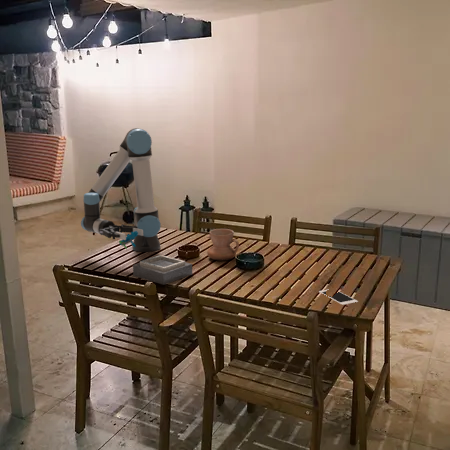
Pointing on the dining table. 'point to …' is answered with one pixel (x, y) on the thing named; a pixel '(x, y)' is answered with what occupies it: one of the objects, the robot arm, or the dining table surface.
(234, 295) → the dining table surface
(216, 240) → the ceramic jug
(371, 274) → the dining table surface
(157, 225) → the robot arm
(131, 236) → the gear
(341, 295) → the cell phone
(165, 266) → the grey open tray
